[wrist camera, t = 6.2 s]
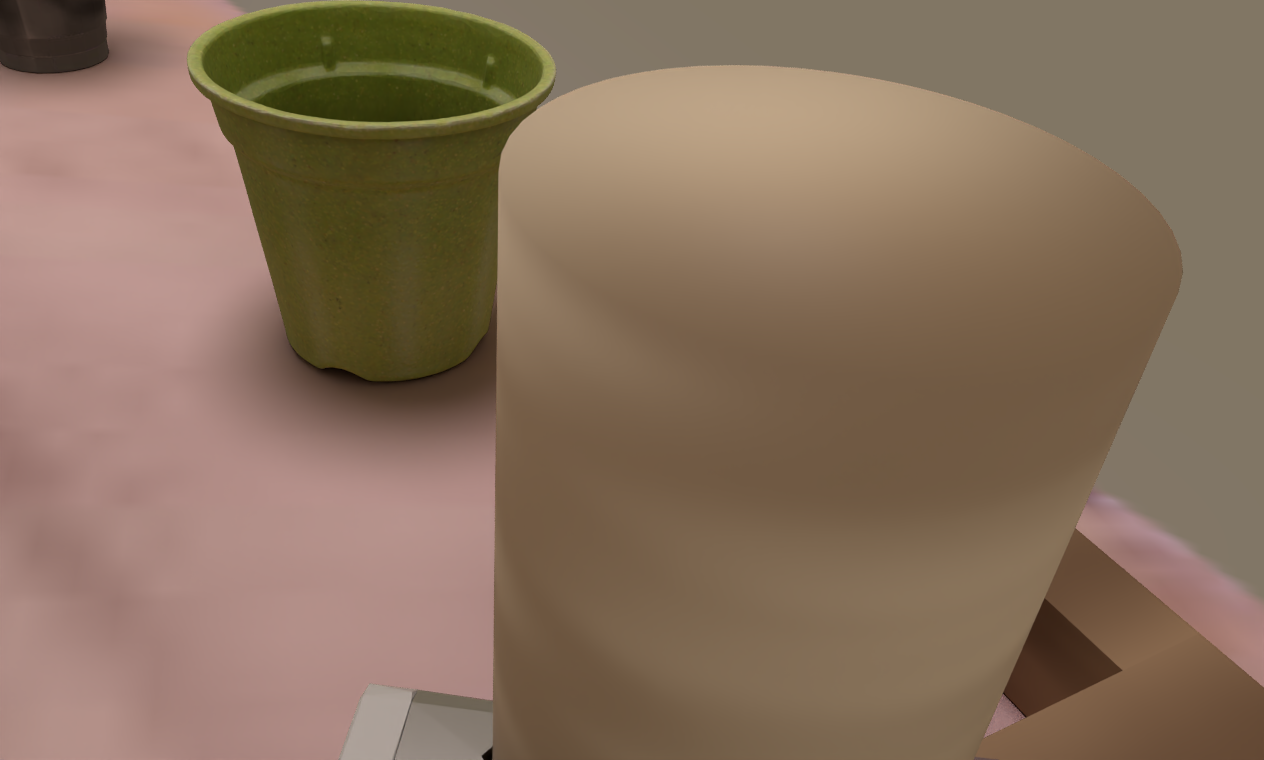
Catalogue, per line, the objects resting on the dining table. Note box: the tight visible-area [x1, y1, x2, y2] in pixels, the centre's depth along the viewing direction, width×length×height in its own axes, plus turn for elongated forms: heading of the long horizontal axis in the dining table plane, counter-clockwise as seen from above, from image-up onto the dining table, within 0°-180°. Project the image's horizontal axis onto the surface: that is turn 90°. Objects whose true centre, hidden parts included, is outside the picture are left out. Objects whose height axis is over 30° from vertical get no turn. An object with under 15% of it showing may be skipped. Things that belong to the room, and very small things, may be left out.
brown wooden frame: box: [975, 528, 1264, 760], centre depth 22 cm, size 14×10×3 cm
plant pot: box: [187, 0, 556, 381], centre depth 31 cm, size 9×9×9 cm
